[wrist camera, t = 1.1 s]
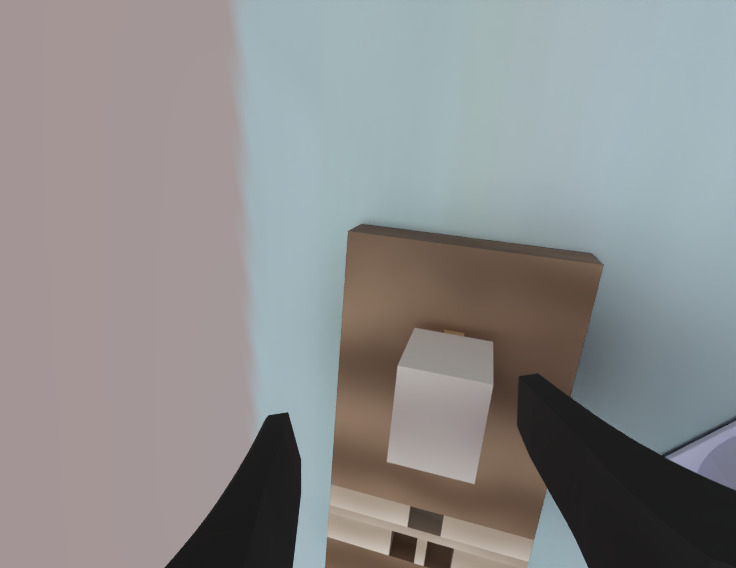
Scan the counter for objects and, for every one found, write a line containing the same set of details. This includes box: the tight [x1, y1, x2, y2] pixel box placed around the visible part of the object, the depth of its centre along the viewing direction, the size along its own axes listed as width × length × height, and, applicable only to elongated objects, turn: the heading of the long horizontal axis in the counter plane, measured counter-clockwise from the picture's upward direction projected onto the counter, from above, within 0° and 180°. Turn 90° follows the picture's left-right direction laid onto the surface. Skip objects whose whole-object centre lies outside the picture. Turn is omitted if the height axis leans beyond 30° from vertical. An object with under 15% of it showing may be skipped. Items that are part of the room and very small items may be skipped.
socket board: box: [325, 224, 604, 568], centre depth 26 cm, size 24×12×2 cm, turn 175°
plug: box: [387, 328, 493, 484], centre depth 20 cm, size 4×4×6 cm
